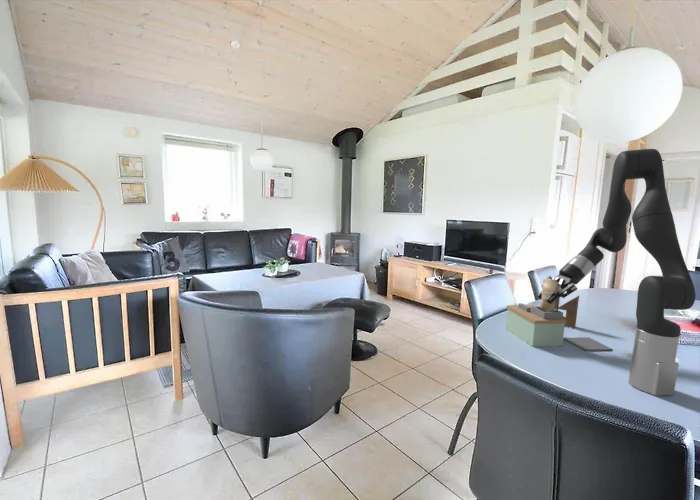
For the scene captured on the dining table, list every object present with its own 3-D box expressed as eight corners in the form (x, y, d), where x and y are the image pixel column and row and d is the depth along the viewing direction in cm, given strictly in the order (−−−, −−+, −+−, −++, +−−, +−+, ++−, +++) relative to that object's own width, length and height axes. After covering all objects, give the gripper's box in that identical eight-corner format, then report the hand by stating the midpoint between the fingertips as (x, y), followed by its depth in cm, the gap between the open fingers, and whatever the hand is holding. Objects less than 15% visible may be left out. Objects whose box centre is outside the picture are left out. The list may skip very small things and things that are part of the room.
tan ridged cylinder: (556, 317, 129) (560, 281, 127) (544, 317, 129) (548, 281, 127) (547, 313, 134) (551, 279, 132) (536, 313, 133) (540, 278, 131)
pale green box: (564, 346, 128) (568, 313, 126) (532, 346, 126) (535, 314, 125) (533, 328, 146) (536, 299, 144) (504, 328, 145) (507, 299, 143)
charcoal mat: (612, 350, 125) (612, 349, 125) (584, 351, 124) (585, 349, 124) (588, 338, 136) (588, 337, 136) (563, 339, 135) (563, 337, 135)
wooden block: (573, 328, 147) (578, 288, 145) (546, 322, 155) (550, 283, 152) (575, 326, 150) (580, 286, 148) (548, 320, 157) (552, 282, 155)
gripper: (557, 259, 136) (526, 288, 136) (585, 266, 122) (550, 298, 122) (568, 272, 137) (537, 301, 138) (597, 280, 123) (562, 312, 124)
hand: (543, 299), depth 130 cm, fingers closed on tan ridged cylinder, 4 cm apart
